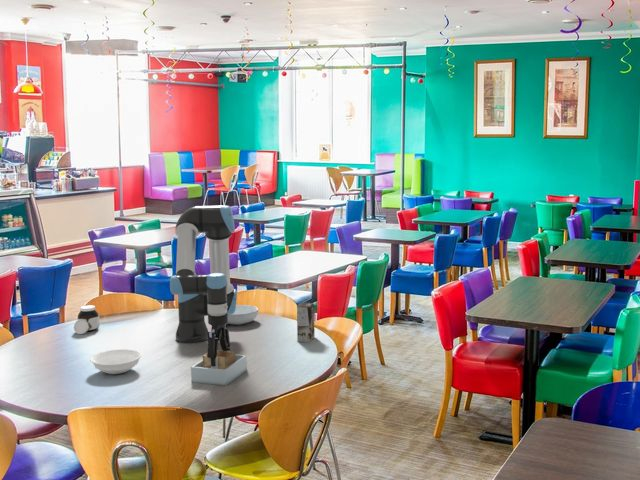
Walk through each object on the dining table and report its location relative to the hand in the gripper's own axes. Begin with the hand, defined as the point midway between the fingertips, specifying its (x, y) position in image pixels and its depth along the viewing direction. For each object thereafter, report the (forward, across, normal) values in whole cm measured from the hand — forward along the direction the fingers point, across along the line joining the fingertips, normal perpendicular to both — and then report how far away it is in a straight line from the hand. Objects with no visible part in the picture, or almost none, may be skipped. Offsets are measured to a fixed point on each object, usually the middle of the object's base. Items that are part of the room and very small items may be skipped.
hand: (219, 370), depth 298 cm
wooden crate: (0, 0, 0) cm, 0 cm away
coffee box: (+3, +58, -15) cm, 60 cm away
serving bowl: (+3, +77, +28) cm, 82 cm away
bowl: (+3, -7, +42) cm, 43 cm away
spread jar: (+3, +42, +91) cm, 100 cm away
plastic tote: (+2, 0, 0) cm, 2 cm away
